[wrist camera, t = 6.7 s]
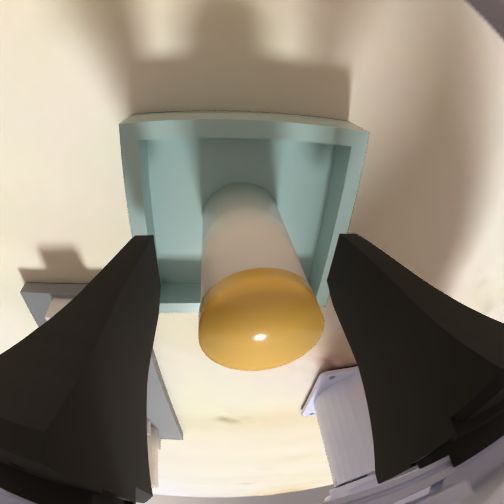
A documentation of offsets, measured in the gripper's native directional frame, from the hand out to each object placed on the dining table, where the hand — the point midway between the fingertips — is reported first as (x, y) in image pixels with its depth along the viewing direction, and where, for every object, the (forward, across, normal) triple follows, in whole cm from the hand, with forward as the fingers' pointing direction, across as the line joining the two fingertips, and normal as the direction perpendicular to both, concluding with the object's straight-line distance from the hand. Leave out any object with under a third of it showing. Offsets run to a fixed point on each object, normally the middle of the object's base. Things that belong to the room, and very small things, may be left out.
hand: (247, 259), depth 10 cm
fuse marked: (+3, 0, 0) cm, 3 cm away
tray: (+3, 0, 0) cm, 3 cm away
